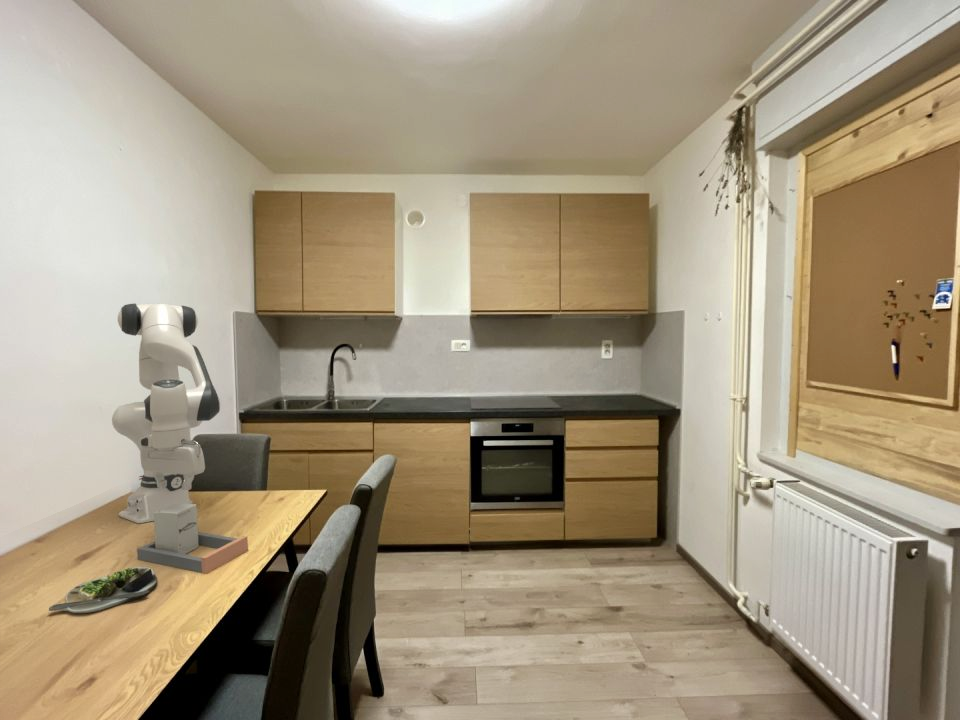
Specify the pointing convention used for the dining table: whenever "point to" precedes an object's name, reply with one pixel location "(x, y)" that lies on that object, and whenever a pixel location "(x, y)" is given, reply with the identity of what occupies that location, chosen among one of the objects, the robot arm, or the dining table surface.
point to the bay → (205, 564)
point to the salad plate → (109, 590)
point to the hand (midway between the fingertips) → (174, 488)
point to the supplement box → (176, 528)
